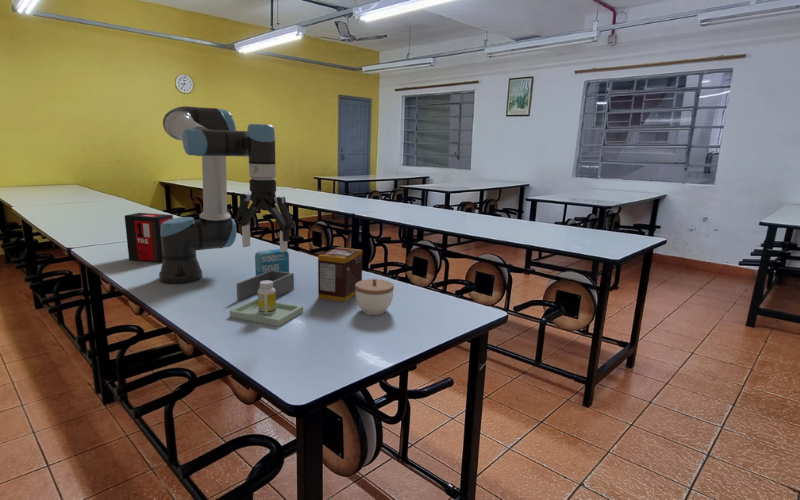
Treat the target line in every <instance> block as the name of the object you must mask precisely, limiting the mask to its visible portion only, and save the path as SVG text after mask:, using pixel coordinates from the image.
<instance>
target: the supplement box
mask: <svg viewBox="0 0 800 500" xmlns="http://www.w3.org/2000/svg"><path fill="white" fill-rule="evenodd" d="M317 269H318V270H317V277H318V279H317V281H318V283H317V284H318V286H317V287H318V290H317V291H318V293H317V294H318V296H317V297H318V298H319V299H325V300H330V301H338V302H343V303H344V302H346V301H348V300H349V299H350V298H352V297H353V296H356V295H355V284H356V283H357V282H359V281H362V280H363V249H358V248H357V249H356V248H348V247H341V246H340V247H339V246H337V247H334V248H333V249H330V250H328V251H326V252H323V253H322V254H319V255H318V256H317Z"/></svg>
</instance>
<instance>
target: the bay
mask: <svg viewBox="0 0 800 500" xmlns="http://www.w3.org/2000/svg"><path fill="white" fill-rule="evenodd" d="M265 280H270V281H273V288H274V289H275V291H276V299H277V298H278V297H281V296H282V295H284V294H287V293H289V292H290V291H293V290H294V289H295V275H294V273H293V272H289V273H287V272H280V271H274V270H270V271H267V272H265V273H262V274H260V275H257V276H256V275H254V276H252V277H249V278H247V279H245V280H242V281H239V282H237V283H236V299H237V301H242V300H245V299H247V298H250V297H251V296H253V295H256V294H258V290H259V289H260V288H261V287H260V282H261V281H265Z"/></svg>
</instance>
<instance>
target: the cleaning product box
mask: <svg viewBox="0 0 800 500" xmlns="http://www.w3.org/2000/svg"><path fill="white" fill-rule="evenodd" d="M170 219H174V215H173V214H165V213H163V214H161V213H160V214H159V213H147V212H135V213H132V214H131V213H130V214H125V215H124V225H125V233H126V243H127V244H126V245H127V252H128V261H132V262H144V263H153V264H162V263H163V253H162V241H161V236H160V234H161V224H162V223H163V222H165V221H167V220H170Z"/></svg>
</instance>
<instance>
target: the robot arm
mask: <svg viewBox="0 0 800 500" xmlns="http://www.w3.org/2000/svg"><path fill="white" fill-rule="evenodd" d="M162 119H163V120H162V127H163V129H164V132H165V133H166V134H167V135H168V136H169V137H171V138H172V139H174V140H177V141H181V142H182V146H183V150H184V153H185V154H186V155H188V156H195V157H201V165H202V168H201V169H202V171H201V172H202V201H203V202H202V203H203V204H202V206H203V211H202V212H201V213H200V214H199V218H198V220H195V219H194V217H192V216H183V217H182V216H181V217H176V218H174V217H173V219H170V220H167V221H165V222H163V223H162V224H161V234H160V236H161V241H162V253H163V263H161V268H160V272H159V274H158V275H159V277H158V278H159V282H161V283H164V284H187V283H191V282H196V281H199V280H200V279H203V270H202V269H201V267H200V262H199V261H198V258H197V251H203V250H212V249H213V250H214V249H215V250H216V249H224V248H229V247H232V245H233V244H234V243H235V241H236V240H237V239H236V238H237V224H238V225H239V229H240V230H239V231H240V233H239V234H240V236H241V239H242V242H241V243H242V248H247V247H250V246H251V229H250V227H251V226H250V224H249V222H250V221H251V220H252V218H253V217H254V215H255V214H256V212H257V211H261V210H262V211H264V212H265V211H267V212H268V213H270V215H272V218H274V219H275V222H276V223H277V224H278V226H279V227H280V229H281V230H279V249H280V252H285V251H287V252H288V241H290V230H291V229H295V227H296V224H295V222H294V219H293V217H292V215H291V213H290V210H289V208H288V206H287V203H286V197H285V195H283V196H282V195H281V196H276V192H277V181H276V177H277V171H276V169H277V168H276V167H277V166H276V134H275V127H274V126H273V125H272V124H262V123H249V124H248V126H247V130H237V128H236V123H235V120H234V116H233V115H232V114H231V112H230V111H228V110H227V109H223V108H216V107H199V106H198V107H197V106H191V105H190V106H187V105H186V106H177V107H175V108H172V109H171V110H169V111H167V112H166V114H165V115H164V116H163V118H162ZM227 157H248V172H249V173H248V176H249V178H250V179H249V192H250V193H249V192H247V193H242V194H241V202H240V203H239V206H238V209H237V212H236V214H235V216H234V218H232V215H231V214H230V212H228V200H227V199H228V198H227V197H228V196H227V195H228V194H227V193H228V192H227V189H228V187H227V185H228V184H227V181H228V180H227ZM250 202H251V203H250ZM249 204H250V205H249ZM276 204H277V205H276Z"/></svg>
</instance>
